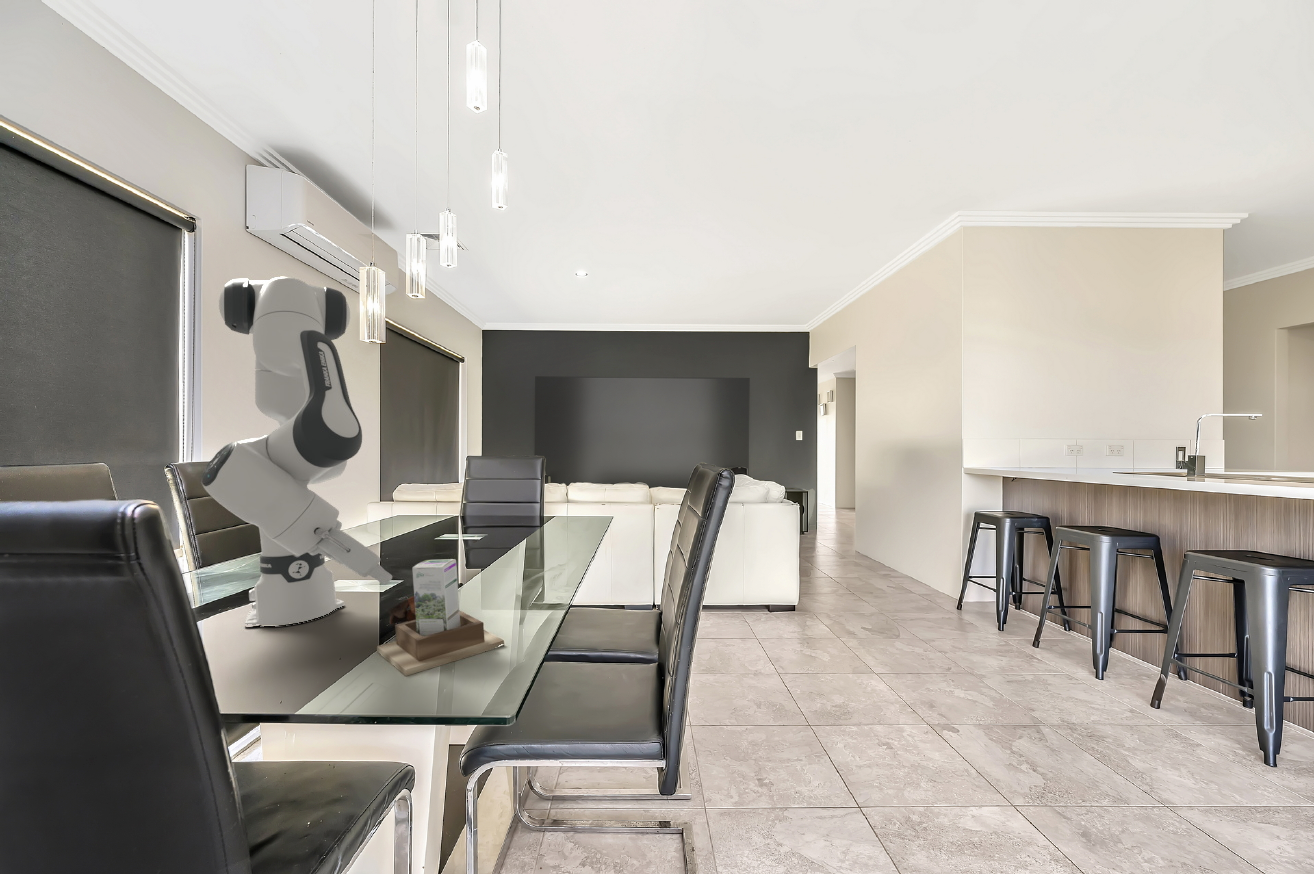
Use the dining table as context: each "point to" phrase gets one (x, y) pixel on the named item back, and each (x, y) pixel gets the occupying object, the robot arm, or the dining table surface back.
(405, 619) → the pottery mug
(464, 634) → the board
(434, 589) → the syrup box
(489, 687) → the dining table surface
